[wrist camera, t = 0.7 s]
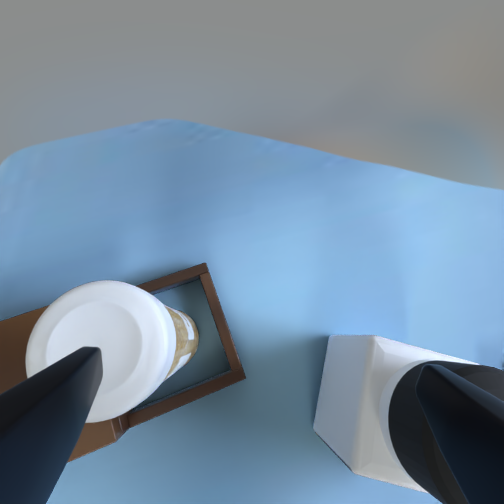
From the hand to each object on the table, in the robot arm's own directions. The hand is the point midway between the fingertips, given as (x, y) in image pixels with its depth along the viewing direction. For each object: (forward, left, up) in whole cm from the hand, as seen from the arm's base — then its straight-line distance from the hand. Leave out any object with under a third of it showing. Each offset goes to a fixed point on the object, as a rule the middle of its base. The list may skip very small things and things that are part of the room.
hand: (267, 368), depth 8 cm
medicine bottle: (-7, -8, -15) cm, 19 cm away
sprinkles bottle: (+2, +5, -15) cm, 16 cm away
